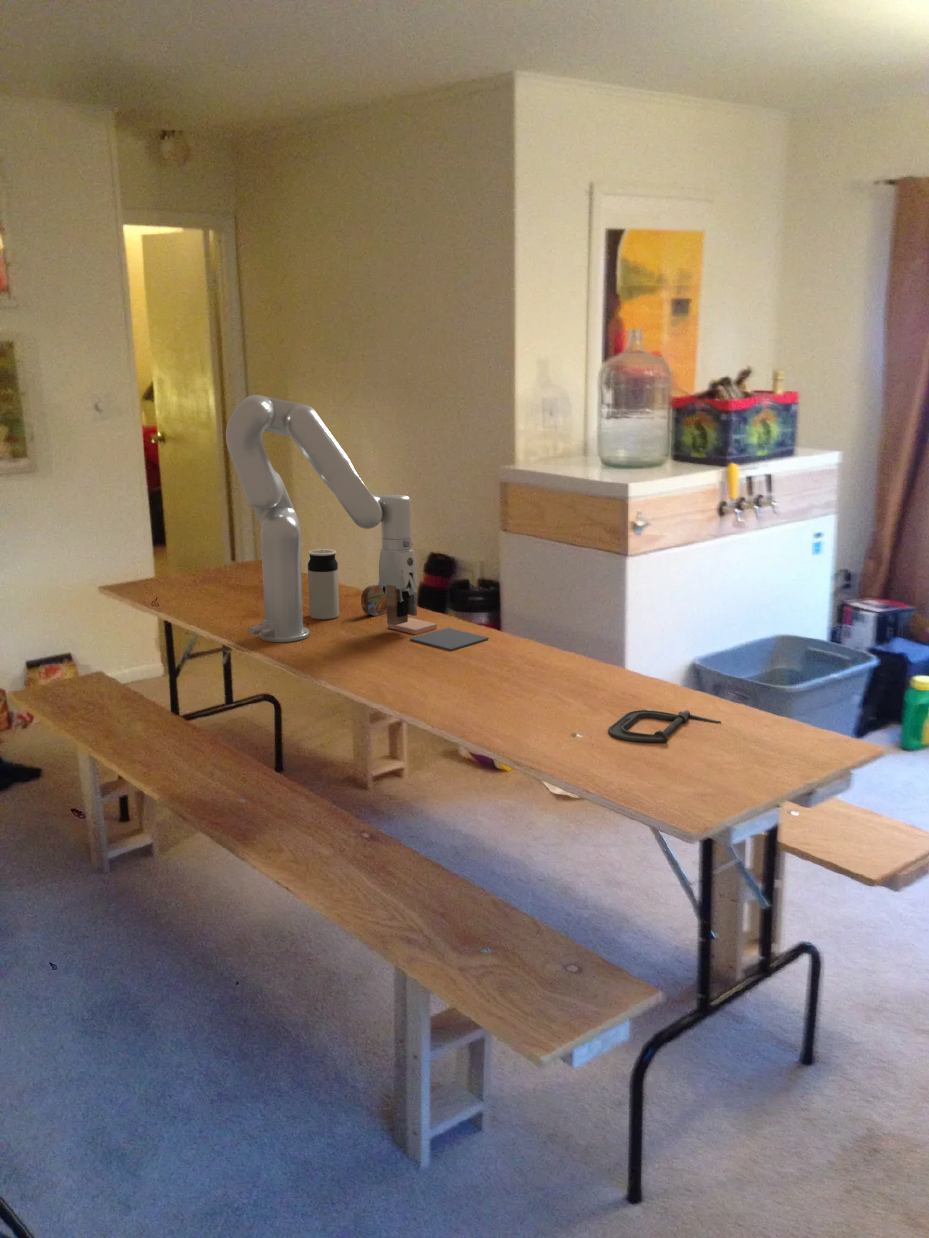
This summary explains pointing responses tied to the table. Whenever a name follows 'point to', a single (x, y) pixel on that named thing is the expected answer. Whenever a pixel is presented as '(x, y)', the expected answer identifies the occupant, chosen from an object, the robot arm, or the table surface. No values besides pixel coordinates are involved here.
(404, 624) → the tile
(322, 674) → the table surface
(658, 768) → the table surface
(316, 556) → the travel mug
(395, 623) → the brown grey block
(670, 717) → the c clamp
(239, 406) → the robot arm
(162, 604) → the table surface
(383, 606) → the tin
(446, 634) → the mat
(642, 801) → the table surface
